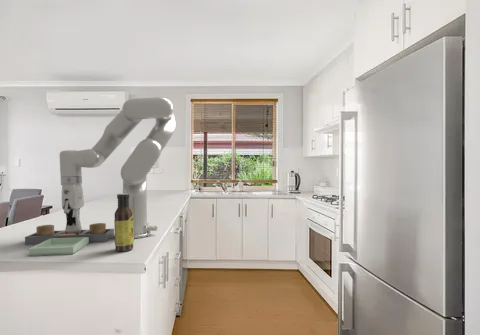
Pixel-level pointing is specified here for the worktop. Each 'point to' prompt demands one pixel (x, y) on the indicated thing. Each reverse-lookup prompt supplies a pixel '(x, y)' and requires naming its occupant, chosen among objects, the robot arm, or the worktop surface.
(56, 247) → the sage tray
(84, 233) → the socket holder
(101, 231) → the oak peg
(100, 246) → the worktop surface
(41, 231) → the oak peg
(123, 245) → the sauce bottle
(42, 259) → the worktop surface
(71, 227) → the salt shaker
